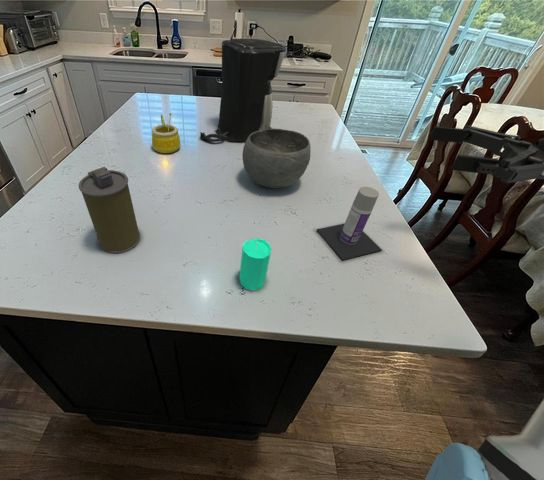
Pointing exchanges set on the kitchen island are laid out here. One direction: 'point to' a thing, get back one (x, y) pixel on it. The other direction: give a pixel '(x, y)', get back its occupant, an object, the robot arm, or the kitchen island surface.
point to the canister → (110, 209)
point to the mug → (165, 137)
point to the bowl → (276, 157)
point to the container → (358, 215)
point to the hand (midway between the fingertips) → (442, 146)
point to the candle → (254, 263)
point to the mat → (345, 250)
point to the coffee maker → (246, 87)
